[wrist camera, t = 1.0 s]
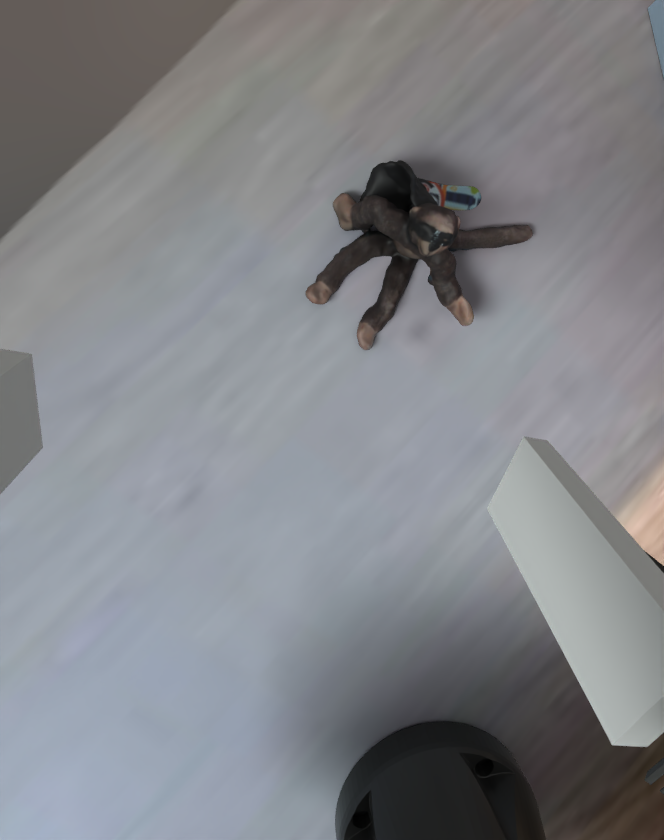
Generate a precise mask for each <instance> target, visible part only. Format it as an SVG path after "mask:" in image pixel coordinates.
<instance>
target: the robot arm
mask: <svg viewBox="0 0 664 840" xmlns="http://www.w3.org/2000/svg"><path fill="white" fill-rule="evenodd" d="M42 448H43V444H42V436H41V427H40V419H39V411H38V402H37V394H36V385H35V377H34V369H33V360H32V354H29V353H23V352H17V351H11V350H5V349H0V494H1V493H2V492H3V491H4V490H5V488H6V487H7V486H8V485H9V484H10V483H11V482H12V481H13V480H14V479H15V477H16V476H17V475H18V474H19V473H20V472H21V471H22V470H23V469H24V468H25V466H26V465H27V464H28V463H29V462H30V461H31V460H32V459H33V458H34V457H35V456H36V454H37V453H38V452H39V451H40V450H41V449H42ZM487 510H488V512H489V513H490V515H491V517H492V519H493V521H494V523H495V525H496V527H497V529H498V530H499V532H500V534H501V536H502V538H503V540H504V542H505V544H506V546H507V547H508V549H509V551H510V553H511V555H512V557H513V559H514V561H515V563H516V564H517V566H518V568H519V570H520V572H521V574H522V576H523V578H524V580H525V581H526V583H527V585H528V587H529V589H530V591H531V593H532V595H533V597H534V598H535V600H536V602H537V604H538V606H539V608H540V610H541V612H542V613H543V615H544V617H545V619H546V621H547V623H548V625H549V627H550V629H551V630H552V632H553V634H554V636H555V638H556V640H557V642H558V644H559V646H560V647H561V649H562V651H563V653H564V655H565V657H566V659H567V661H568V663H569V664H570V666H571V668H572V670H573V672H574V674H575V676H576V678H577V680H578V681H579V683H580V685H581V687H582V689H583V691H584V693H585V695H586V697H587V698H588V700H589V702H590V704H591V706H592V708H593V710H594V712H595V714H596V715H597V717H598V719H599V721H600V723H601V725H602V727H603V729H604V731H605V732H606V734H607V736H608V738H609V740H610V742H611V744H612V745H617V746H636V747H648V746H649V745H650V744H651V743H652V742H653V741H655V740H656V739H657V738H658V737H659V736H660V735H661V734H662V733H664V566H663V565H662V564H660V563H659V562H658V561H657V560H655V559H654V558H653V557H652V556H650V555H649V554H648V553H647V552H645V551H644V550H643V549H642V548H641V547H640V546H639V545H638V543H637V542H636V541H635V540H634V539H633V538H632V537H631V535H630V534H629V533H628V532H627V531H626V530H625V529H624V527H623V526H622V525H621V524H620V523H619V522H618V521H617V519H616V518H615V517H614V516H613V515H612V514H611V513H610V511H609V510H608V509H607V508H606V507H605V506H604V505H603V503H602V502H601V501H600V500H599V499H598V498H597V497H596V495H595V494H594V493H593V492H592V491H591V490H590V489H589V487H588V486H587V485H586V484H585V483H584V482H583V481H582V479H581V478H580V477H579V476H578V475H577V474H576V473H575V471H574V470H573V469H572V468H571V467H570V466H569V465H568V463H567V462H566V461H565V460H564V459H563V458H562V457H561V455H560V454H559V453H558V452H557V451H556V450H555V449H554V447H553V446H552V445H551V444H550V443H549V442H548V441H547V440H541V439H535V438H529V437H523V439H522V441H521V443H520V445H519V447H518V449H517V451H516V453H515V455H514V457H513V458H512V460H511V462H510V464H509V466H508V468H507V470H506V472H505V474H504V476H503V478H502V480H501V482H500V484H499V486H498V488H497V490H496V492H495V494H494V496H493V498H492V500H491V502H490V504H489V506H488V508H487ZM662 775H664V758H663V759H662V760H660V761H659V762H658V763H657V764H656V765H655V766H653V767H652V768H651V769H650V770H649V771H648V772H647V775H646V777H645V781H646V782H648V783H649V784H650V785H651V784H652V783H654V782H655V781H656V780H657V779H659V778H660V777H661V776H662ZM660 792H661V793H663V794H664V787H663V788H662V789H661V790H660ZM335 828H336V838H337V840H546V838H545V834H544V830H543V826H542V822H541V818H540V813H539V809H538V806H537V802H536V799H535V797H534V794H533V792H532V789H531V787H530V785H529V783H528V782H527V780H526V778H525V776H524V775H523V773H522V771H521V769H520V768H519V766H518V764H517V763H516V761H515V759H514V758H513V756H512V755H511V753H510V752H509V751H508V750H507V749H506V747H505V746H504V745H503V744H502V743H500V742H499V741H498V740H497V739H495V738H494V737H493V736H491V735H489V734H488V733H486V732H484V731H482V730H480V729H477V728H475V727H472V726H469V725H465V724H460V723H453V722H433V723H425V724H420V725H416V726H413V727H409V728H406V729H404V730H401V731H399V732H397V733H395V734H393V735H391V736H389V737H387V738H386V739H384V740H382V741H381V742H380V743H378V744H377V745H375V746H374V747H373V748H372V749H371V750H369V751H368V752H367V753H366V754H365V755H364V756H363V757H362V758H361V759H360V760H359V762H358V763H357V764H356V765H355V767H354V768H353V770H352V771H351V772H350V774H349V776H348V777H347V779H346V781H345V783H344V785H343V787H342V790H341V792H340V796H339V799H338V803H337V808H336V816H335Z"/></svg>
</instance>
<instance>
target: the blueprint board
mask: <svg viewBox="0 0 664 840" xmlns="http://www.w3.org/2000/svg"><path fill="white" fill-rule="evenodd" d="M648 11H649V16H650V20H651V25H652V29H653V33H654V38H655V42H656V47H657V51H658V56H659V60H660V65H661V69H662V73H663V78H664V0H656V1H655V2H654V3H653V4H652V5H651V6H650V7H649V8H648Z"/></svg>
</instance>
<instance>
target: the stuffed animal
mask: <svg viewBox="0 0 664 840" xmlns="http://www.w3.org/2000/svg"><path fill="white" fill-rule="evenodd" d="M480 201H481V195H480V193H479V191H478V189H477V188H475V187H471V186H455V185H443V184H439V183H434V182H431V181H427V180H423V179H419V178H417V177H416V175H415V174H414V172H413V170H412V169H411V168H410V166H409V165H408V164H406V163H405V162H403V161H398V162H393V161H390V162H388V163H380V164H379V165H377V166H376V167H375V168H373V170H372V172H371V175H370V178H369V180H368V183H367V186H366V190H365V192H364V193H363V194H362V196H361V198H360V202H358V203H356V201H355V200H354V199H353V198H352V197H351V196H350V195H348V194H346V193H342V194H340V195H339V196H338V197H337V198H336V199H335V200H334V202H333V208H334V210H335V212H336V214H337V217H338V220H339V224H340V227H341V228H342V229H344V230H345V231H351V230H362V232H363V233H364V234H363V235H361V236H360V237H359V238H357V239H356V240H355V241H354V242H352V243H351V244H349V245H348V246H346V247H344V248H342V249H341V250H340V252H339V253H338V254H336V255H335V256H334V258H333V260H332V261H331V262H330V263H329V264H328V265H327V266H326V268H325V269H324V271H323V272H321V273H320V274H319V275H318V276H317V279H316V283H314V284H312V285H310V286H309V287H308V288H307V290H306V297H307V298H308V299H309V300H310V301H311V302H312V303H315V304H325V303H327V302H328V300H329V297H330V296H331V295H332V294H333V293H335V292H336V291H337V290H338V288H339V287H340V285H341V283H342V282H343V280H344V279H345V277H346V276H347V275H348V274H349V273H350V272H352V271H353V270H354V269H355V268H357V267H358V266H360V265H362V264H364V263H366V262H367V261H369V260H370V259H371V258H373V257H380V256H391V257H392V260H391V263H390V265H389V266H388V268H387V270H386V273H385V277H384V281H383V286H382V290H381V292H380V294H379V297H378V300H377V302H376V303H375V304H374V305H373V306H372V307H371V308H369V309H368V310H367V311H366V312H365V314H364V315H363V317H362V319H361V321H360V323H359V327H358V330H357V338H358V342H359V345H360V347H361V348H363V349H364V350H369V349H371V347H372V345H373V341H374V338H375V335H376V334H377V333H378V332H379V331H381V330H382V328H383V327H384V326H385V324H386V323H387V322H388V321H389V320H390V319H391V318H392V317H393V315H394V312H395V309H396V306H397V304H398V302H399V300H400V298H401V296H402V294H403V292H404V290H405V288H406V286H407V284H408V282H409V279H410V277H411V275H412V272H413V270H414V268H415V265H416V262H417V261H418V259H422V260H424V261H425V262H426V264H427V265H428V266H429V267H430V270H431V271H430V275H429V277H428V282H429V283H430V284H431V285H433V286H434V288H435V291H436V294H437V297H438V299H439V301H440V302H441V304H442V305H443V306H445V307H447V309H448V310H449V311H450V312H451V313H452V314H453V315H454V317H455V318H456V319H457V320H458V321H459V323H460V324H461V325H462V326H468V325H470V324H471V323H472V322H473V319H474V315H473V311H472V307H471V305H470V304H469V302H468V301H467V300H466V299H465V298H464V297H463V294H462V290H461V287H460V285H459V283H458V281H457V280H456V277H455V269H456V259H455V256H454V255H453V254H452V253H451V252H450V251H455V250H457V249H462V250H469V249H474V248H497V247H502V246H505V245H512V244H517V243H521V242H524V241H527V240H528V239H530V238H531V237H532V235H533V233H532V230H531V228H530V227H529V226H528V225H513V226H504V227H489V228H482V229H476V230H472V231H463V230H460V229H459V227H460V218H459V217H457V216H456V215H455V212H454V211H452V210H470V209H473V208H475V207H476V206H478V204H479V203H480ZM373 225H374V226H375V227H376V228H377V229H378V230H379V231H380V232H379V231H371V230H370V228H371V227H372V226H373Z"/></svg>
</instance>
